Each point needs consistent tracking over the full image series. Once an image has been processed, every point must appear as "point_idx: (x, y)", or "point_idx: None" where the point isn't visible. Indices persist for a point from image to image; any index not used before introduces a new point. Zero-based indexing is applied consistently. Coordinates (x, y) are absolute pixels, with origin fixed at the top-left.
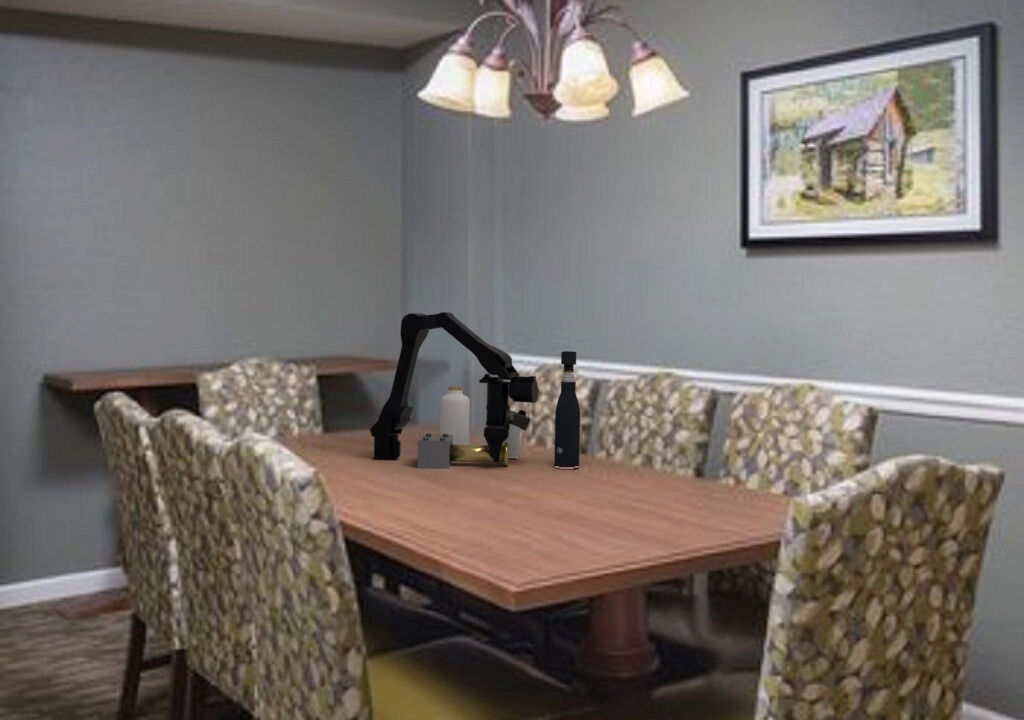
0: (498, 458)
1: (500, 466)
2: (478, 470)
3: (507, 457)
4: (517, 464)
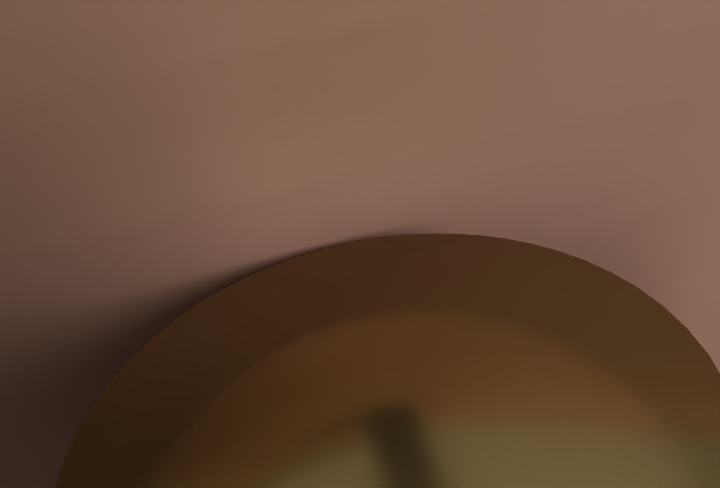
0: None
1: None
2: None
3: (599, 279)
4: (28, 148)
